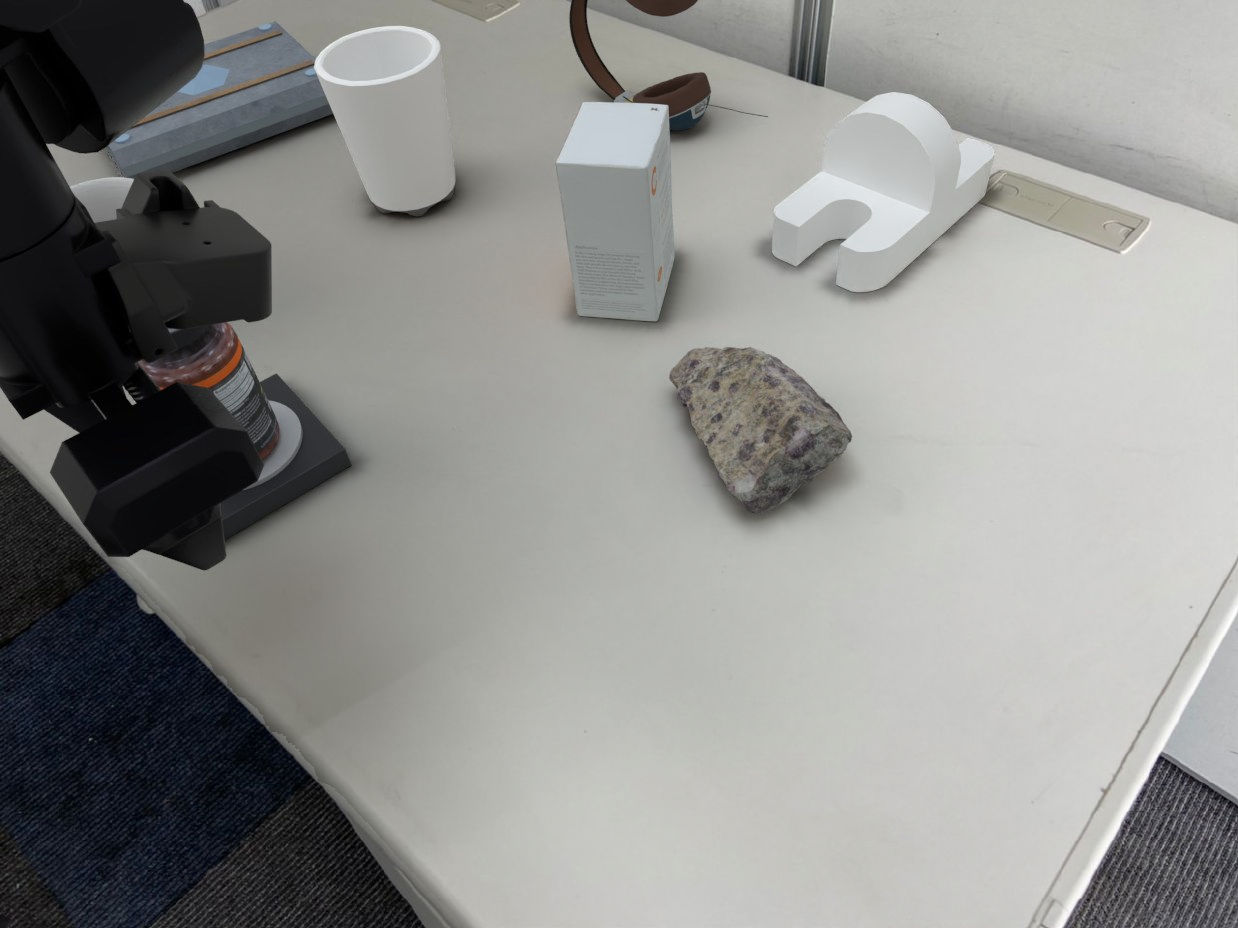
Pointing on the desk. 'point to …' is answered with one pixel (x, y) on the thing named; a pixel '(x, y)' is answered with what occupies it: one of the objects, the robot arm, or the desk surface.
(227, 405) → the supplement bottle
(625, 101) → the headphones
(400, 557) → the desk surface
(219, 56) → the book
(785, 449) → the rock
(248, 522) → the scale
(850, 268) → the slotted bracket
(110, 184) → the cup
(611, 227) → the small box
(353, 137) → the cup
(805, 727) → the desk surface
